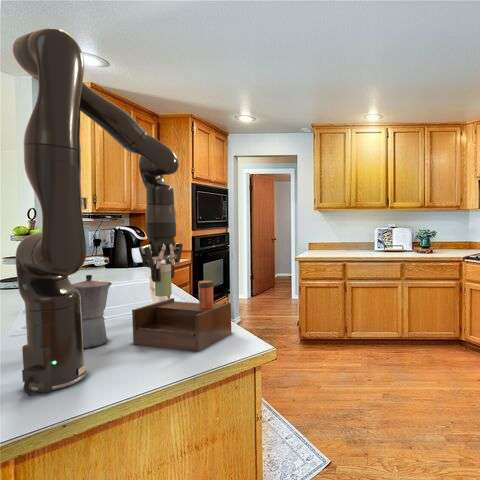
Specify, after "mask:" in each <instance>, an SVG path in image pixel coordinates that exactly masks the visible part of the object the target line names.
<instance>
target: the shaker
mask: <svg viewBox="0 0 480 480" xmlns="http://www.w3.org/2000/svg"><path fill="white" fill-rule="evenodd" d="M159 269H160V278H161V281H160V282H155V296H159V297H161V296H169V295H170V296H171V295H172V294H173V291H172V288H173V287H172V279H171V264H170V263H165V262H163V263H162V262H161V263H160V267H159Z"/></svg>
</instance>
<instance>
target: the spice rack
mask: <svg viewBox="0 0 480 480" xmlns="http://www.w3.org/2000/svg"><path fill="white" fill-rule="evenodd" d="M131 316H132V340H133V341H132V342H133V345H139V346H148V347H157V348H166V349H174V350H183V351H190V352H200V351H202V350H204V349H206V348H208V347H210V346H212V345H213V344H216V343H217V342H219V341H221V340H222V339H224V338H226V337H228V336H231V335H232V302H225V303H222V304H214V303H213V307H212V308H209V309H200V308H199V302H189V301H175V298H174V297H170V299H167V300H164V301H161V302H157V303H154V304H152V303H151V304H147V305H145V306H141V307H137V308H134V309H132V310H131Z"/></svg>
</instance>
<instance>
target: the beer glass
mask: <svg viewBox="0 0 480 480" xmlns="http://www.w3.org/2000/svg"><path fill="white" fill-rule="evenodd" d="M148 288H149V289H148V291H149V296H150V300H151V304H154V303H157V302H161V301H164V300H167V299H171V295H169V296H161V297H159V296H155V282H153V281H152V279H151V275H150V276H149V282H148Z"/></svg>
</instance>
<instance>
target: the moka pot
mask: <svg viewBox="0 0 480 480" xmlns="http://www.w3.org/2000/svg"><path fill="white" fill-rule="evenodd" d="M92 278H93V275H92V274H86V275H85V280H84V281H79V282H75V283H71V284H72V285H73V286H74V287H75V288H76V289H78V290H79V292H80V295H81V314H82V334H83V349H86V348H94V347H97V346H101V345H104V344H105V343H107V341H108V338H107V330H106V323H105V317H104V316H105V315H104V314H105V309H106V307H107V300H108V294H109V289H110V287H111V285H113V283H112V282H110V281H99V280H92Z"/></svg>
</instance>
